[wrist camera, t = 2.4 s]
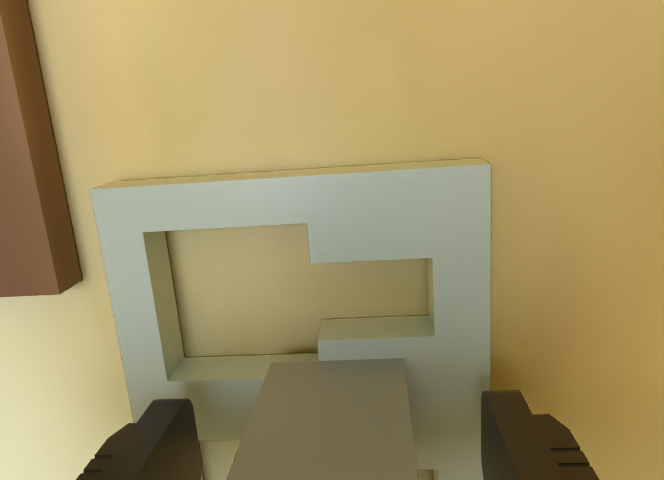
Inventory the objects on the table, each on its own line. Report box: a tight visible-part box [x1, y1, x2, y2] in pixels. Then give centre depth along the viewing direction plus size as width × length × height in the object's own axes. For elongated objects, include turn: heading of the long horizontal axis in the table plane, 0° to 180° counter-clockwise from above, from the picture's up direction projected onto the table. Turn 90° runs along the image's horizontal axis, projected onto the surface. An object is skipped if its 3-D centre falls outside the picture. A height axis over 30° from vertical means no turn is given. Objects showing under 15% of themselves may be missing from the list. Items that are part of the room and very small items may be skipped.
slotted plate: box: [90, 158, 491, 480], centre depth 11 cm, size 8×11×6 cm
